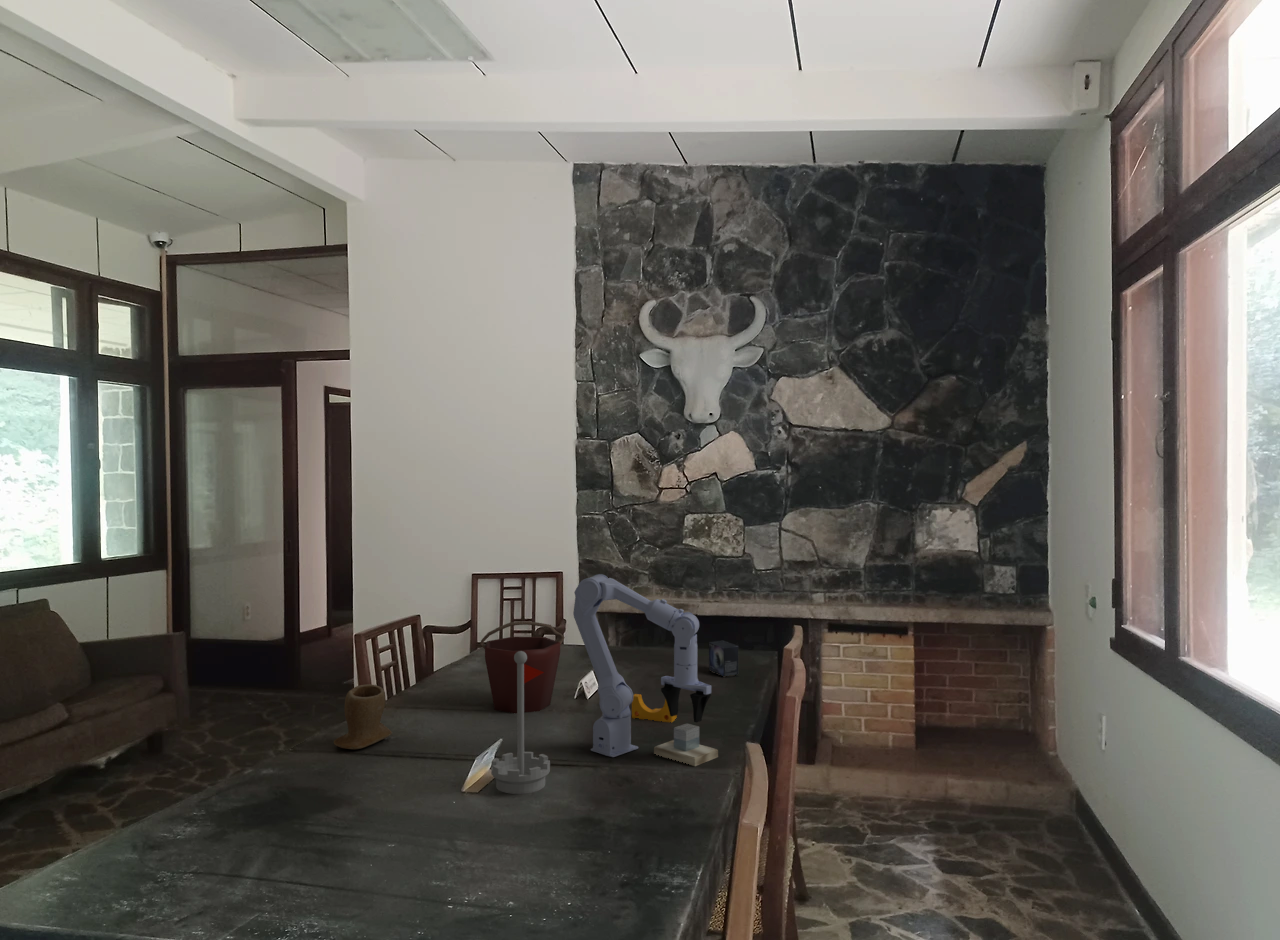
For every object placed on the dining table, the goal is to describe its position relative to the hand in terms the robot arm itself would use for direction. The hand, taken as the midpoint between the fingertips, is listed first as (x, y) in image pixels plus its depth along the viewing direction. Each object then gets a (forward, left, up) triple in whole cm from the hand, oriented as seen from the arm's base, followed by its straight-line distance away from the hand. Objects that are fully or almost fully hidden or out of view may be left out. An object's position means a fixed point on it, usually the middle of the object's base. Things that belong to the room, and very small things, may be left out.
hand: (685, 718), depth 215 cm
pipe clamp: (+19, +27, -10) cm, 35 cm away
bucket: (+2, +65, -10) cm, 66 cm away
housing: (0, 0, -7) cm, 7 cm away
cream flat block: (0, 0, -9) cm, 9 cm away
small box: (+75, +45, -10) cm, 88 cm away
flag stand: (-40, +15, -10) cm, 44 cm away
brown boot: (-48, +67, -10) cm, 83 cm away
